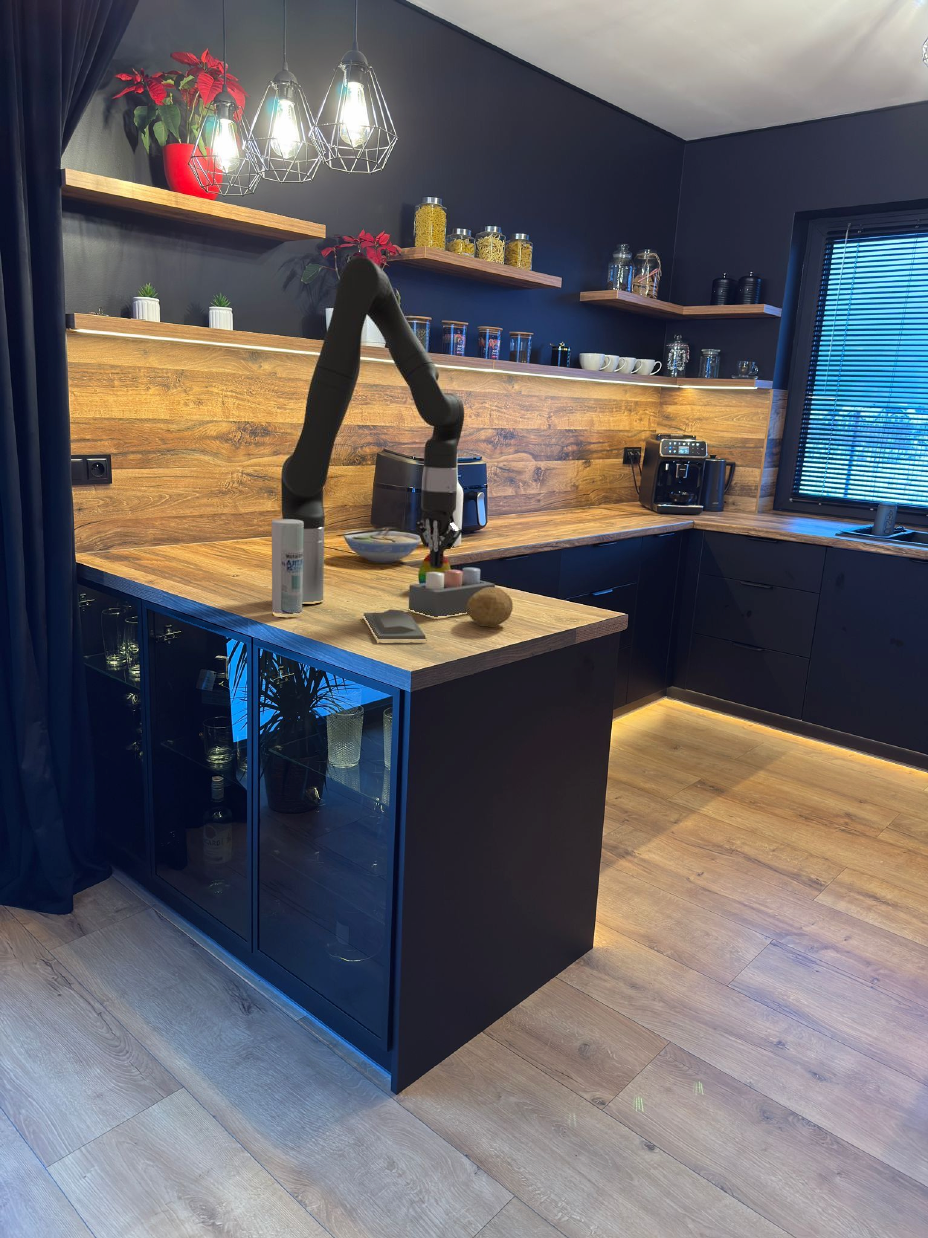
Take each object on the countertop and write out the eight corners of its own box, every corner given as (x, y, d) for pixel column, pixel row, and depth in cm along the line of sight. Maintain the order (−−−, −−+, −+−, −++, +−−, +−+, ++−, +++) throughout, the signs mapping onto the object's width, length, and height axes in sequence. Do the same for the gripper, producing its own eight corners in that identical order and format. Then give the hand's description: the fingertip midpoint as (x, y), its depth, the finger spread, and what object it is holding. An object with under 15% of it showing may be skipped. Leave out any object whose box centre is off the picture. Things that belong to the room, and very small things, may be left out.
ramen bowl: (382, 572, 239) (383, 542, 237) (323, 559, 253) (323, 531, 251) (439, 562, 259) (440, 534, 257) (381, 551, 272) (382, 525, 270)
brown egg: (452, 600, 195) (453, 573, 194) (439, 596, 198) (441, 570, 197) (464, 598, 198) (466, 572, 197) (452, 594, 201) (454, 569, 200)
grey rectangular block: (435, 619, 190) (437, 592, 188) (408, 611, 196) (409, 584, 194) (493, 609, 202) (495, 584, 201) (466, 602, 208) (467, 577, 207)
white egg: (433, 603, 192) (434, 576, 190) (421, 599, 194) (422, 572, 193) (446, 601, 194) (448, 574, 193) (434, 597, 197) (435, 571, 196)
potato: (513, 619, 194) (515, 583, 192) (509, 635, 180) (511, 597, 178) (469, 616, 195) (471, 580, 193) (462, 631, 181) (464, 593, 179)
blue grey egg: (469, 597, 199) (471, 571, 198) (457, 594, 202) (459, 568, 201) (482, 595, 202) (483, 569, 201) (470, 592, 205) (471, 566, 203)
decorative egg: (421, 595, 213) (423, 554, 211) (414, 588, 221) (416, 548, 219) (454, 595, 215) (456, 554, 213) (446, 588, 223) (447, 549, 221)
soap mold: (409, 620, 190) (410, 605, 189) (427, 645, 171) (428, 628, 170) (362, 621, 187) (362, 605, 187) (375, 646, 169) (375, 629, 168)
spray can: (289, 609, 191) (289, 518, 186) (309, 615, 187) (310, 522, 182) (265, 614, 186) (265, 520, 181) (284, 620, 182) (285, 524, 177)
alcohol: (430, 546, 287) (434, 452, 280) (438, 542, 296) (443, 451, 289) (456, 548, 285) (460, 454, 278) (463, 545, 293) (468, 453, 286)
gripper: (405, 485, 191) (403, 564, 195) (447, 492, 182) (444, 574, 186) (431, 484, 196) (428, 561, 200) (473, 490, 187) (469, 571, 191)
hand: (436, 567), depth 193 cm, fingers closed
